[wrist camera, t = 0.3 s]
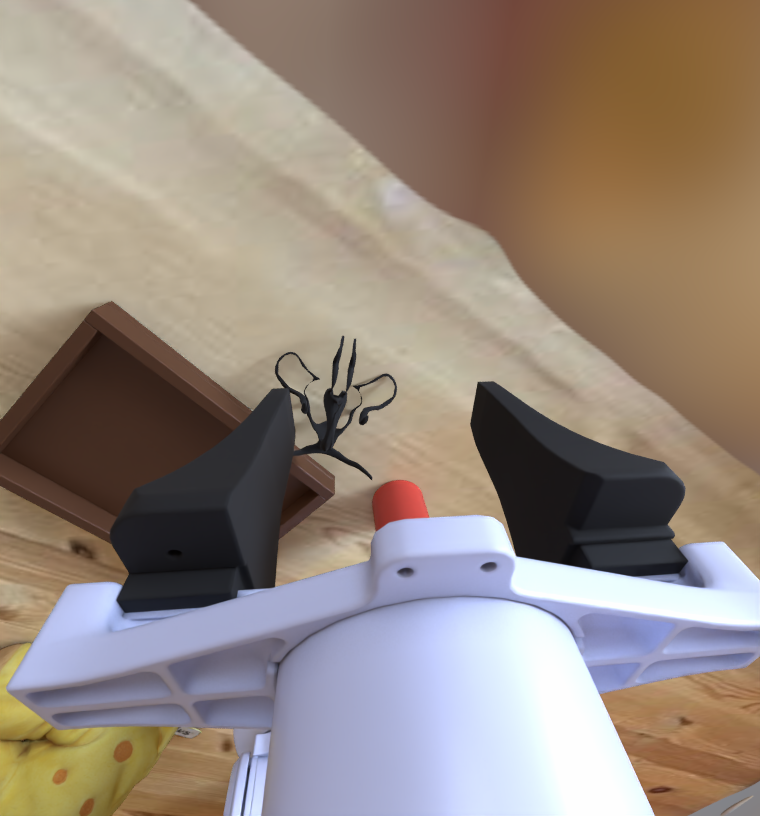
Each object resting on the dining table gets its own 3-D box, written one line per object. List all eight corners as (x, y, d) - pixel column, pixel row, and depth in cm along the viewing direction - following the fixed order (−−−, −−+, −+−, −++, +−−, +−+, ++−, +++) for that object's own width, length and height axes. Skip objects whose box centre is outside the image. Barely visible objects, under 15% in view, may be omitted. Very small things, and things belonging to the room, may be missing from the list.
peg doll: (394, 527, 32) (410, 606, 26) (361, 501, 31) (369, 579, 24) (432, 499, 31) (458, 574, 25) (400, 470, 30) (418, 543, 23)
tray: (216, 573, 32) (209, 595, 31) (-12, 447, 25) (-39, 466, 23) (334, 476, 29) (335, 494, 27) (112, 300, 22) (91, 309, 20)
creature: (285, 319, 25) (262, 438, 26) (278, 324, 20) (250, 470, 21) (403, 349, 26) (374, 458, 28) (425, 360, 21) (388, 493, 23)
